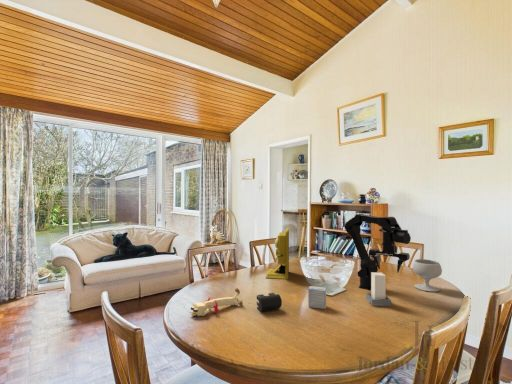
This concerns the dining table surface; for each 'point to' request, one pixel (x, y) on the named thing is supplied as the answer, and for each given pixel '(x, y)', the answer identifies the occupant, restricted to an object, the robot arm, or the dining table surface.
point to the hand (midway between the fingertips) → (388, 270)
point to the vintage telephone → (281, 257)
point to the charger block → (378, 285)
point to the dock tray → (378, 301)
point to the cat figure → (215, 304)
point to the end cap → (269, 302)
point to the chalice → (427, 273)
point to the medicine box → (317, 297)
